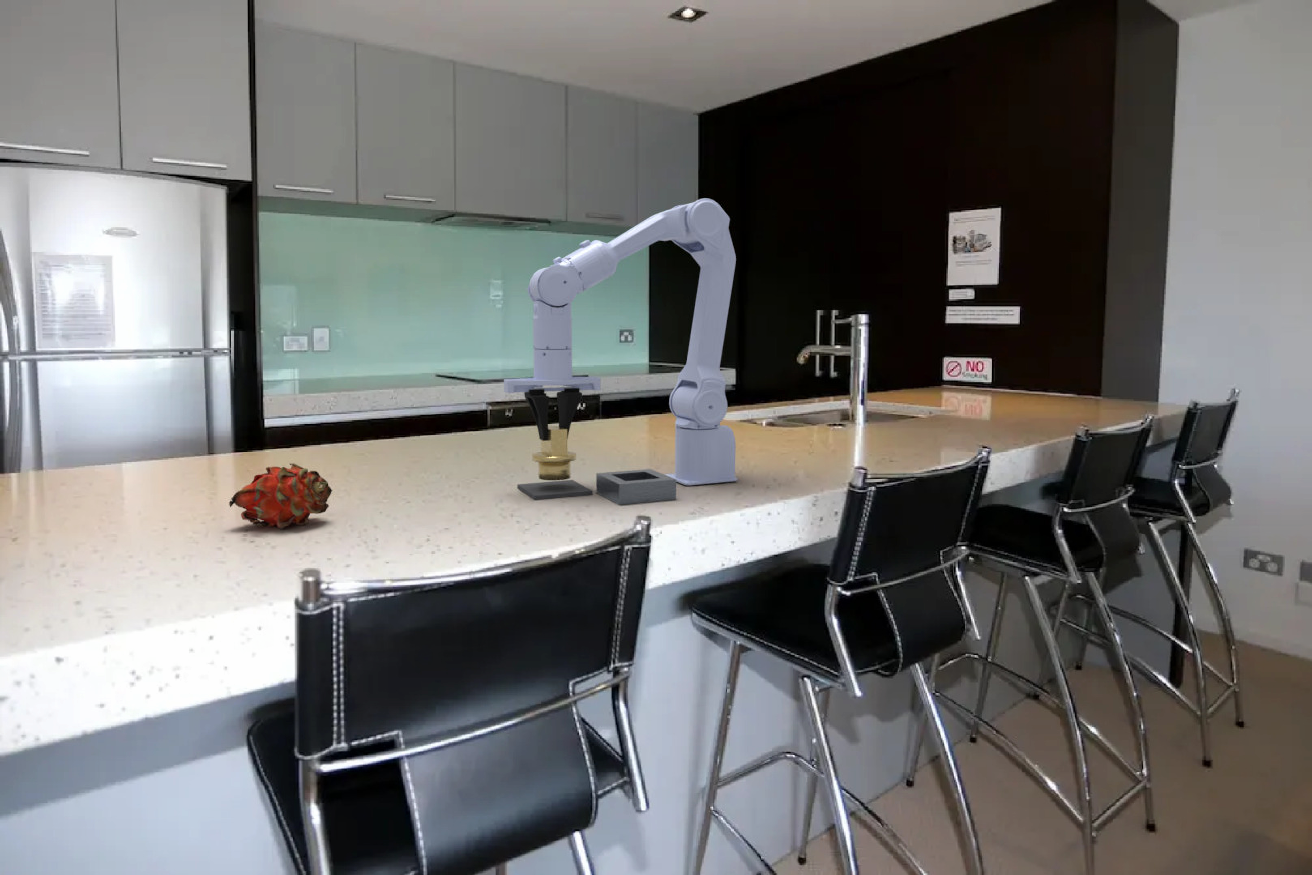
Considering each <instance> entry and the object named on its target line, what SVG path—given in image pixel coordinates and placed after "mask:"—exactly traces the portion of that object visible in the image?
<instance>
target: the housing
mask: <svg viewBox="0 0 1312 875" xmlns="http://www.w3.org/2000/svg"><path fill="white" fill-rule="evenodd" d="M595 476H596V480H595V481H596V482H595V483H596V484H595V485H596V486H595V487H596V488H595V489H596V490H595V491H596V494H598V495H600V496H602V497H603V498H604V499H605V498H606V500H607V499H608V500H609V501H611V502H612V503H615V504H616V505H619V506H622V505H623V506H625V505H634V504H646V503H654V502H665V501H675V500H677V482H676V479H674V478H671V477H669V476H666V474H664V473H662V472H659V471H656V470H653V469H652V468H646V469H637V470H635V469H633V470H623V471H622V470H621V471H609V472H608V471H607V472H598V473H596V475H595Z"/></svg>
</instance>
